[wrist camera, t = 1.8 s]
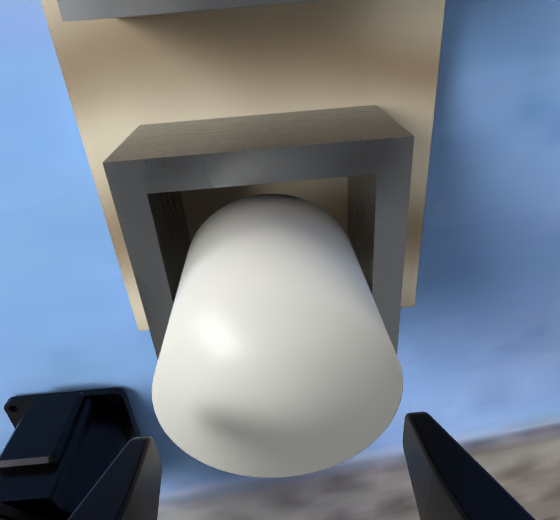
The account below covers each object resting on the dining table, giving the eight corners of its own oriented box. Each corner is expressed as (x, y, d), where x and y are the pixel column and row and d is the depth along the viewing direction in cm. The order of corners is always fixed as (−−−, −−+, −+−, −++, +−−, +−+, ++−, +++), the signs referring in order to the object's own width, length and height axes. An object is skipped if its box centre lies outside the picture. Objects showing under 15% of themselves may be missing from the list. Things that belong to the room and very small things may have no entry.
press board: (405, 288, 22) (414, 306, 21) (145, 311, 22) (138, 330, 21) (467, -444, 11) (496, -505, 10) (-55, -405, 11) (-97, -460, 10)
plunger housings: (368, 298, 20) (395, 367, 16) (183, 314, 20) (165, 387, 16) (394, -445, 10) (484, -735, 6) (16, -416, 10) (-137, -690, 6)
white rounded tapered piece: (353, 331, 16) (395, 467, 11) (201, 344, 16) (177, 487, 11) (355, 185, 13) (412, 285, 8) (170, 201, 13) (123, 311, 8)
